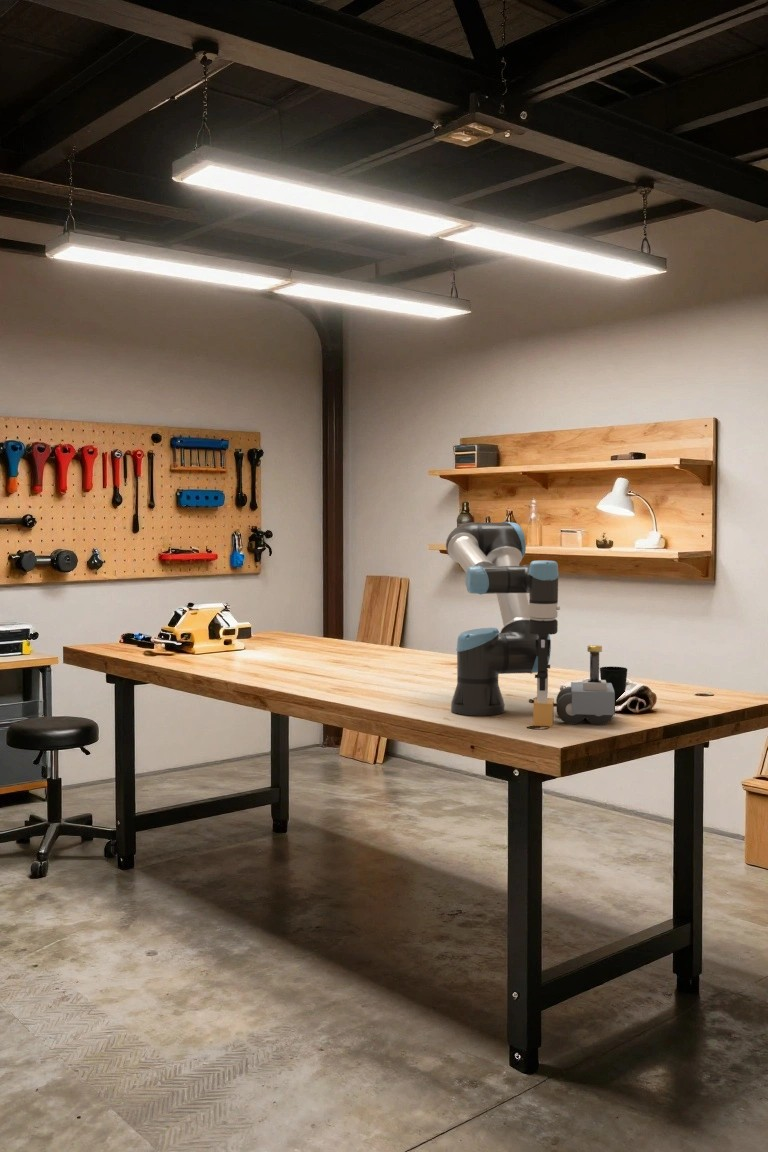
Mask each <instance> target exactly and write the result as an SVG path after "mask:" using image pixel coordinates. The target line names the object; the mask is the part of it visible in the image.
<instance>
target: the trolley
mask: <svg viewBox="0 0 768 1152" xmlns="http://www.w3.org/2000/svg"><path fill="white" fill-rule="evenodd" d="M555 707H556V714H557V716H558V718H559V719H560V721H561V722H563V723H565V724H568V725H576V724H579V723H581V722H582V721H583V720H585V719H586V720H587V721H588V722H589V723H591V724H592V725H595V726H602V725H606V724H607V723H609V722H610V721H611V720H612V719H613V717H614V716H615V713H616V712H615V692H614V689H613V686H612V683H606V680H601V679H599V683H594V682H590V679H582V682H579V681H576V682H574V681H573V682H570V686H566V687H564V688H562V689H561V690H560V691H559V692H558V693H557V695H556V706H555Z"/></svg>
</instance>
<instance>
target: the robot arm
mask: <svg viewBox="0 0 768 1152" xmlns="http://www.w3.org/2000/svg"><path fill="white" fill-rule="evenodd" d="M526 543H527V542H526V536H525V533H524V531H523V528H522V527H521V526H520V524H518V523H516V522H510V521H502V522H480V521H478V522H475V521H473V522H471V521H470V522H464V523H462V524H460V525H459V526H457V527H455V528H454V529H453V530H452V531H451V532H450V534H449V535H448V536H447V538H446V541H445V549H446V552H447V555H448V556H449V558H450V559H451V560H452V561H453V562H455V563H457V564H459V565H460V567H461V568H462V570H463V571H464V572H465V586H466V590H467V592H468V593H470V594H475V595H476V594H477V595H487V594H488V595H490V594H492V595H493V594H494V595H495V594H496V597H497V602H498V605H499V612H500V616H501V619H502V625H503V627H502V628H501V630H500V631H499V629H498V628H497V627H483V628H474V629H470V630H465V631H463V632H461V633H460V634H459V635H458V636H457V644H456V650H455V651H456V659H457V660H456V664H457V665H456V671H457V672H456V673H457V678H456V687H455V690H454V693H453V696H452V700H451V703H450V710H451V712H452V713H454V714H457V713H458V714H457V715H465V716H480V717H481V716H482V717H483V716H494V715H499V714H503V713H505V709H506V708H505V701H504V698H503V695H502V692H501V688H500V686H499V675H506V674H530V675H531V674H534V679H536V698H537V703H547V698H548V694H549V693H548V692H549V690H548V688H549V669H551V664H549V663H550V658H551V652H552V651H551V650H552V644H551V643H552V641H551V635H556V634H557V633H558V631H559V630H558V628H559V627H558V625H559V622H558V619H557V618H558V616H559V614H558V612H559V610H561V607H560V606H559V604H558V602H559V576H560V575H559V574H560V573H559V565H558V562H557V561H555V560H546V559H544V560H542V559H541V560H539V559H538V560H532V561H531V562H530V563H529V564H524V565H520V563H521V562H522V560H523V558H524V557H525V554H526V550H527V549H526V548H527V544H526ZM527 594H529V600H528V596H527Z"/></svg>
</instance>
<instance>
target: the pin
mask: <svg viewBox="0 0 768 1152" xmlns="http://www.w3.org/2000/svg"><path fill="white" fill-rule="evenodd" d="M586 651H587V652H588V653H589V680H590V682H594V683H599V680H600V653H602V652H603V646H602V645H595V644H592V645H591V644H589V645H587V650H586Z"/></svg>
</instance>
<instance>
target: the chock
mask: <svg viewBox="0 0 768 1152" xmlns="http://www.w3.org/2000/svg"><path fill="white" fill-rule="evenodd" d="M554 703H555V700H554V698H553V697H551V698H550V697H547V703H537V697H534V700H533V717H532V719H533V724H532V725H533V726H536V727H537V726H540V727H554V726H553V725H554V711H555V710H554V709H555V708H554V705H555V704H554Z"/></svg>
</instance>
